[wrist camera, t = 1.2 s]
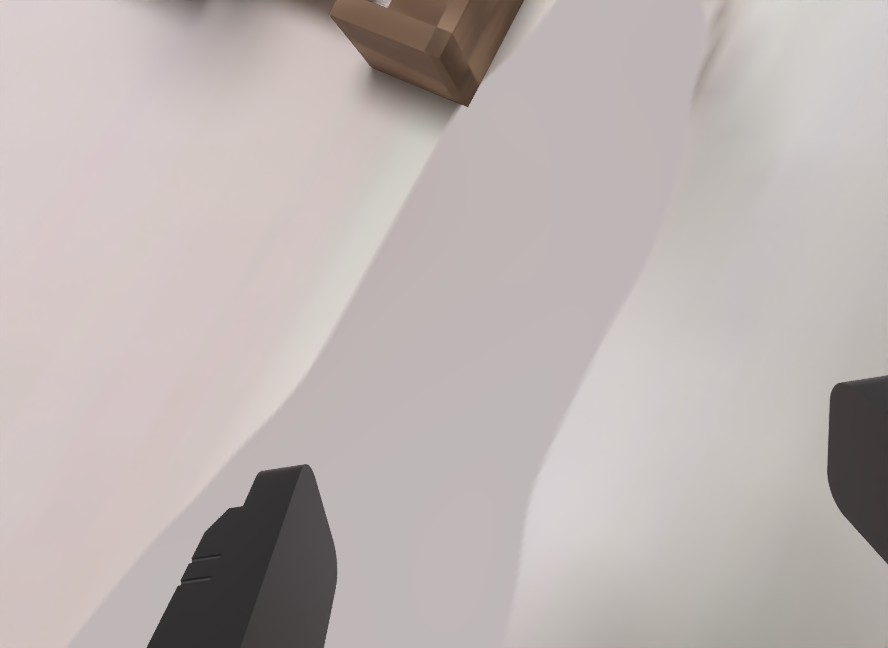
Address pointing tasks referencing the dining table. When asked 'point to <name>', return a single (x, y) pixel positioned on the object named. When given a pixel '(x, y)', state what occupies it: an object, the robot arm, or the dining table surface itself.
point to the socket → (429, 40)
